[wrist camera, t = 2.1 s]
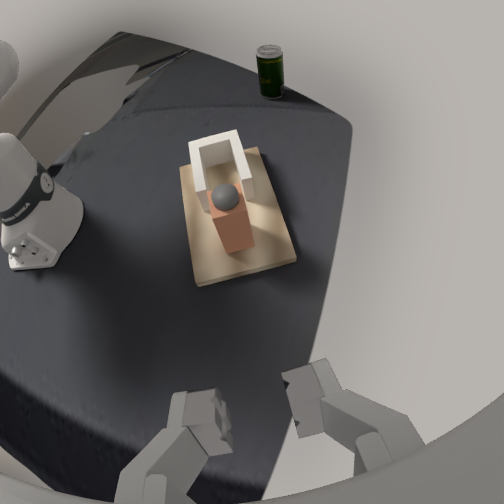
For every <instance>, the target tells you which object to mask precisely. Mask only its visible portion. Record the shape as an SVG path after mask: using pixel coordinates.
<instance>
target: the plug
mask: <svg viewBox="0 0 504 504" xmlns="http://www.w3.org/2000/svg"><path fill="white" fill-rule="evenodd" d="M207 196H208V201H209V206H210V211H211V216H212V220H213V223H214V225H215V227H216V230H217V232H218V235H219V237H220V239H221V242H222V244H223V247H224V249H225V251H226V254H229V253H232V252H236V251H240V250H244V249H248V248H252V247H255V244H254V239H253V235H252V230H251V225H250V220H249V216H248V211H247V207H246V203H245V200H244V196H243V193H242V189H241V186H240V183H238V184H234V185H232V184H227V183H225V184H221V185H218V186H217V187H215V188H214V189H213V190H211V191H208V192H207Z"/></svg>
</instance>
